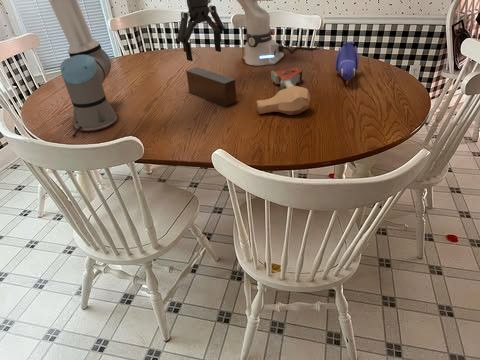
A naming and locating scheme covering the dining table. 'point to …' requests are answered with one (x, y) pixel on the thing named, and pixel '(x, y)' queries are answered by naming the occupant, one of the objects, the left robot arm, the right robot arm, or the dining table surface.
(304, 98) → the squash
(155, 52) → the dining table surface
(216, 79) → the bar
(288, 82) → the tape dispenser
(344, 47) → the toy
